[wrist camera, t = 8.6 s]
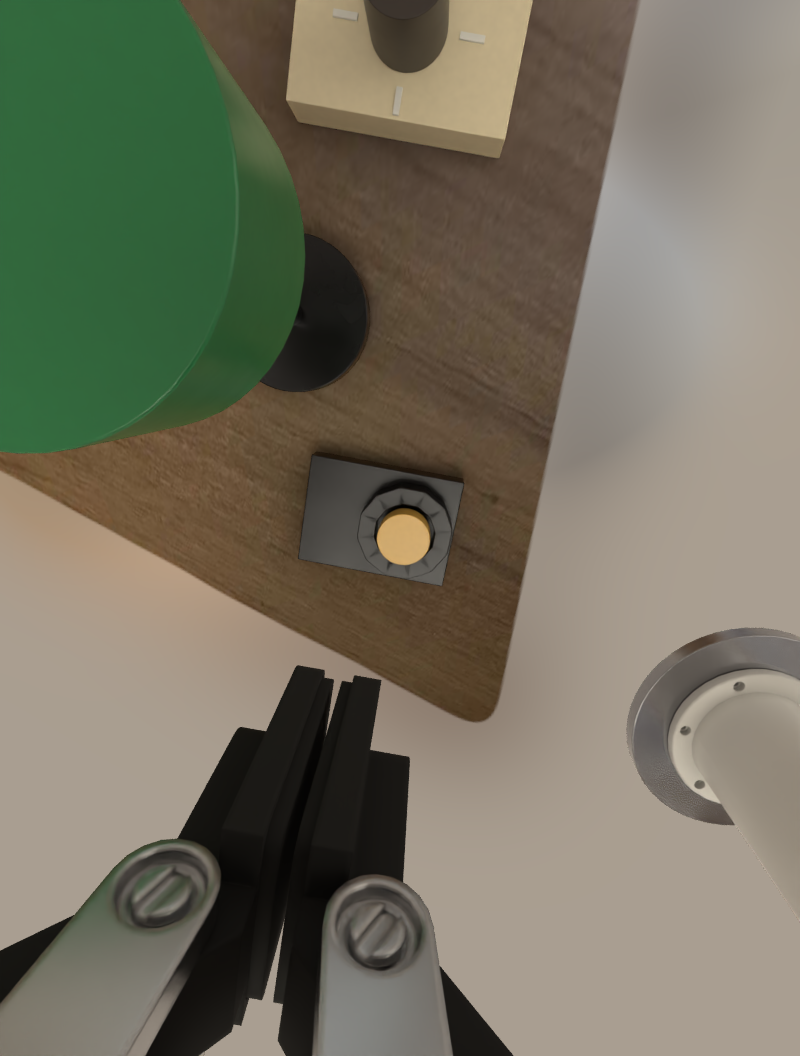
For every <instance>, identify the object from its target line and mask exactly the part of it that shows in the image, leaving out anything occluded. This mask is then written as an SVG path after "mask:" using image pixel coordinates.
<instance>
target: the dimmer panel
mask: <svg viewBox="0 0 800 1056" xmlns="http://www.w3.org/2000/svg"><path fill="white" fill-rule="evenodd" d="M532 2H533V0H449V24H448V34H447V38H446V42H445V45H444V47H443V49H442V51H441V53H440V54H439V56H438V57H437V58H436V59H435V61H434V62H433V63H432V64H430V65H429V66H428V67H426V68H424V69H423V70H420V71H418V72H413V73H402V72H398V71H395V70H393V69H391V68H390V67H388V66H387V65H386V64H384V63H383V62H382V60H381V59H380V58H379V57H378V55H377V54H376V52H375V50H374V47H373V45H372V41H371V37H370V32H369V27H368V21H367V16H366V11H365V6H364V0H296V5H295V15H294V25H293V35H292V45H291V54H290V64H289V74H288V84H287V94H286V101H287V103H288V104H289V106H290V108H291V110H292V112H293V114H294V115H295V117H296V119H297V121H298V122H301V123H306V124H312V125H317V126H323V127H328V128H334V129H339V130H345V131H350V132H356V133H361V134H367V135H372V136H378V137H383V138H389V139H394V140H400V141H405V142H411V143H416V144H422V145H427V146H433V147H438V148H444V149H449V150H455V151H460V152H466V153H471V154H477V155H482V156H488V157H493V158H499V157H500V154H501V151H502V148H503V144H504V141H505V137H506V132H507V127H508V122H509V117H510V112H511V107H512V102H513V97H514V92H515V87H516V82H517V77H518V72H519V67H520V62H521V57H522V52H523V47H524V42H525V37H526V32H527V27H528V22H529V17H530V12H531V7H532Z"/></svg>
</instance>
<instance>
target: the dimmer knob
mask: <svg viewBox="0 0 800 1056" xmlns="http://www.w3.org/2000/svg"><path fill="white" fill-rule="evenodd" d="M364 6H365V11H366V16H367V21H368V27H369V32H370V37H371V41H372V45H373V47H374V50H375V52H376V54H377V55H378V57H379V58H380V59H381V60H382V62H383V63H384V64H386V65H387V66H388V67H390V68H391V69H393V70H395V71H398V72H402V73H413V72H418V71H420V70H423V69H424V68H426V67H428V66H429V65H430V64H432V63H433V62H434V61H435V59H436V58H437V57H438V56H439V54H440V53H441V51H442V49H443V47H444V45H445V42H446V38H447V34H448V24H449V0H364Z"/></svg>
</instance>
